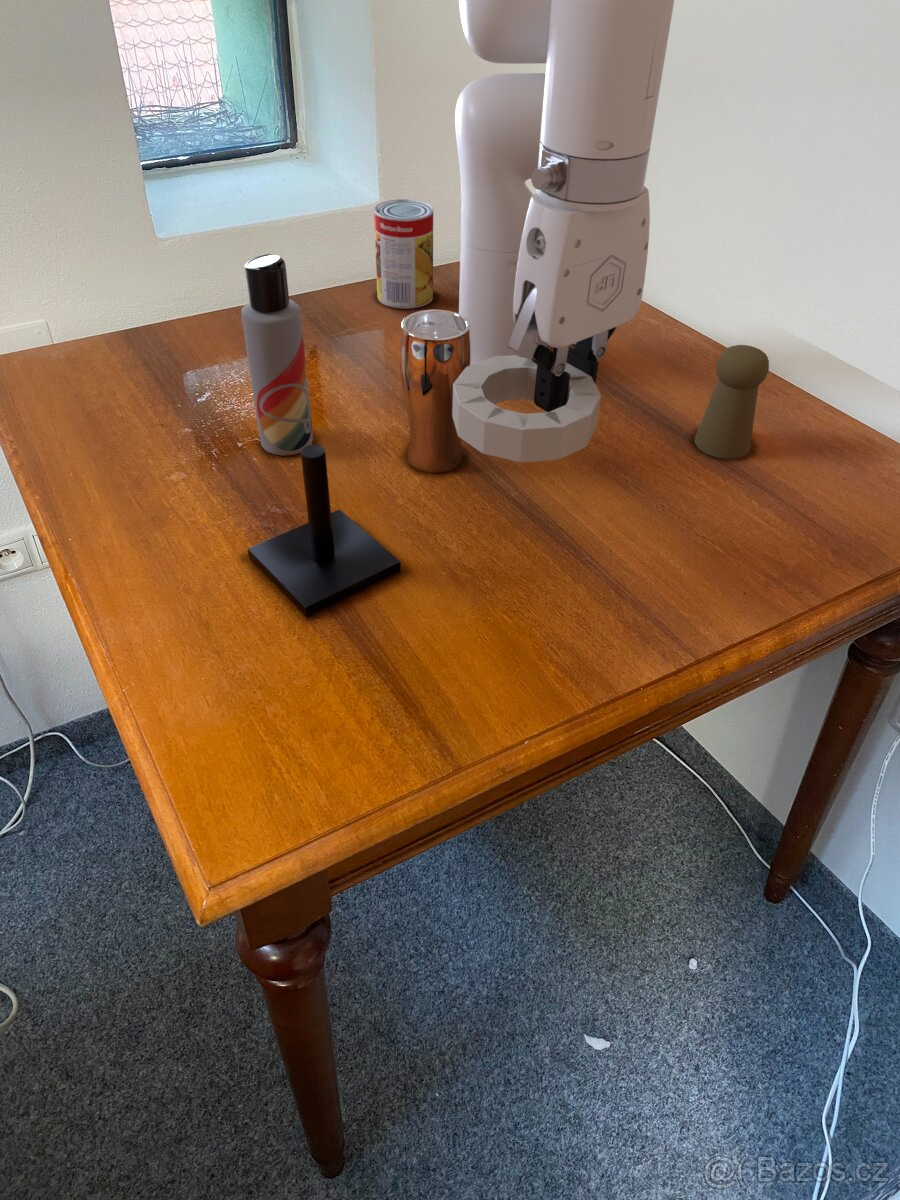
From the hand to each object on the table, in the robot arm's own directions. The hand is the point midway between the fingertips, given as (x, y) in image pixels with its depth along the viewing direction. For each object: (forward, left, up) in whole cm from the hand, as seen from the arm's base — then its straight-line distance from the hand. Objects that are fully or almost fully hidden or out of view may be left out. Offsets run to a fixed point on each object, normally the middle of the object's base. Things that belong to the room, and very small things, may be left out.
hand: (563, 402), depth 74 cm
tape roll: (+4, 0, 0) cm, 5 cm away
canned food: (-22, -53, -15) cm, 59 cm away
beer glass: (0, -18, -15) cm, 23 cm away
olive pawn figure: (-27, -1, -15) cm, 31 cm away
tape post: (+19, -10, -15) cm, 26 cm away
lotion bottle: (+11, -30, -15) cm, 35 cm away
